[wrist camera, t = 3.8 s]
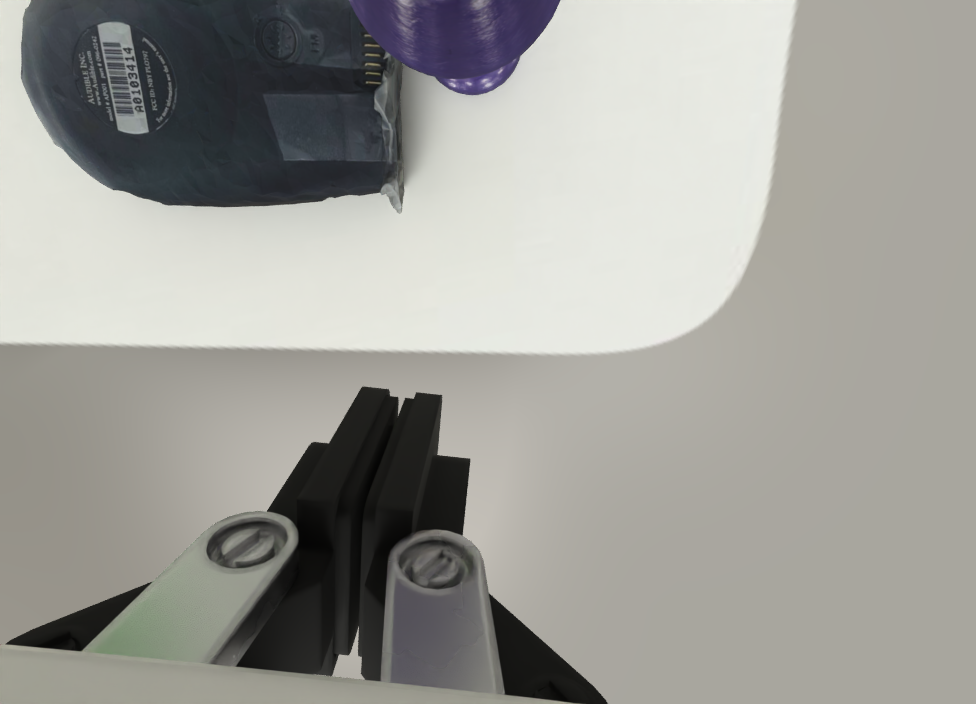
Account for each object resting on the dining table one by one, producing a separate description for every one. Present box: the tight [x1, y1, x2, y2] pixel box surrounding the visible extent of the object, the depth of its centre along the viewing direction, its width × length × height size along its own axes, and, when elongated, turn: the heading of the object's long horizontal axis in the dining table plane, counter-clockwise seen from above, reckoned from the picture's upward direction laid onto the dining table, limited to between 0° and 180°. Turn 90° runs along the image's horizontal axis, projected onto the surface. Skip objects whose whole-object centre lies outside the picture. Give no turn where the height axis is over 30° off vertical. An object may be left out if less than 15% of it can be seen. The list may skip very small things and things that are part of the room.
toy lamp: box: [349, 0, 560, 95], centre depth 15 cm, size 5×5×17 cm
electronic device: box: [21, 0, 404, 213], centre depth 22 cm, size 9×6×15 cm
